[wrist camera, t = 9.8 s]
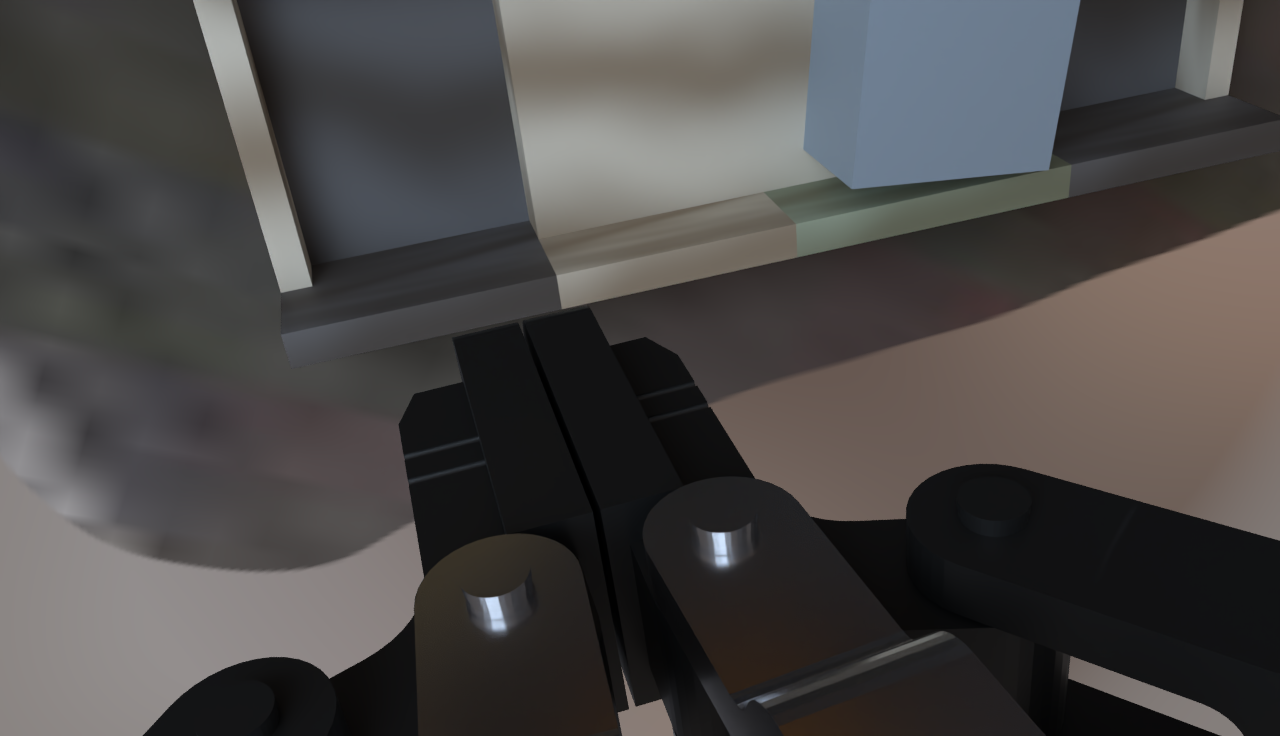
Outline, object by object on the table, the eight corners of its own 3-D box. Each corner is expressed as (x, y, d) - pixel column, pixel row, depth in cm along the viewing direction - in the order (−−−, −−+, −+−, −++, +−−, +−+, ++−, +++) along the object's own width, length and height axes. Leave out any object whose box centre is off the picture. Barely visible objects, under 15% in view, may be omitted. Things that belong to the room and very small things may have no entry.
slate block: (816, -34, 36) (871, -9, 33) (1013, -43, 38) (1084, -20, 35) (803, 149, 39) (851, 189, 36) (985, 133, 41) (1048, 170, 38)
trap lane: (177, -83, 33) (161, -54, 29) (1239, -243, 39) (1355, -239, 35) (290, 299, 39) (291, 368, 35) (1188, 110, 45) (1280, 150, 41)
